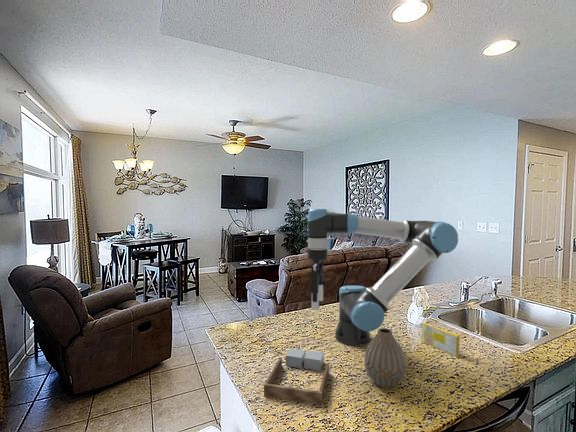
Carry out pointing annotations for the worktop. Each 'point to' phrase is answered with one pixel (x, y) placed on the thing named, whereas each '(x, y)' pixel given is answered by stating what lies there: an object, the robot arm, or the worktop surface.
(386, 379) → the vase
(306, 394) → the frame
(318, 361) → the light grey square block
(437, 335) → the candy box
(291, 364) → the tile
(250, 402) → the worktop surface
